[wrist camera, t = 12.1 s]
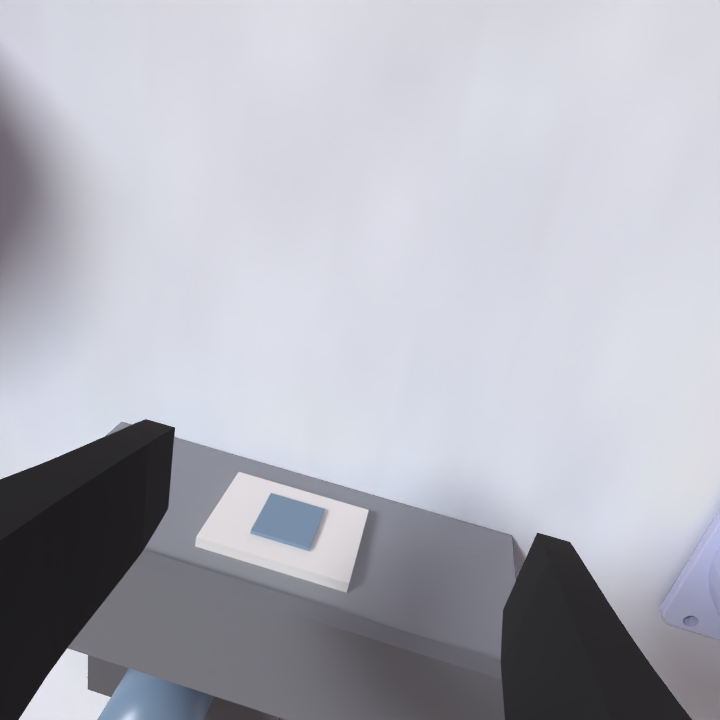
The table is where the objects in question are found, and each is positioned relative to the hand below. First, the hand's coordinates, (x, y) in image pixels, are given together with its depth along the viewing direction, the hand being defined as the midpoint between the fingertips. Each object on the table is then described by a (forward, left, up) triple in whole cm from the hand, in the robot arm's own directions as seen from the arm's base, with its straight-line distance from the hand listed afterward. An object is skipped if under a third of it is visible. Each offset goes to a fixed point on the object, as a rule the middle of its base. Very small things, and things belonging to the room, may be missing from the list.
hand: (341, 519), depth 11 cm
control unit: (+2, +9, -9) cm, 13 cm away
